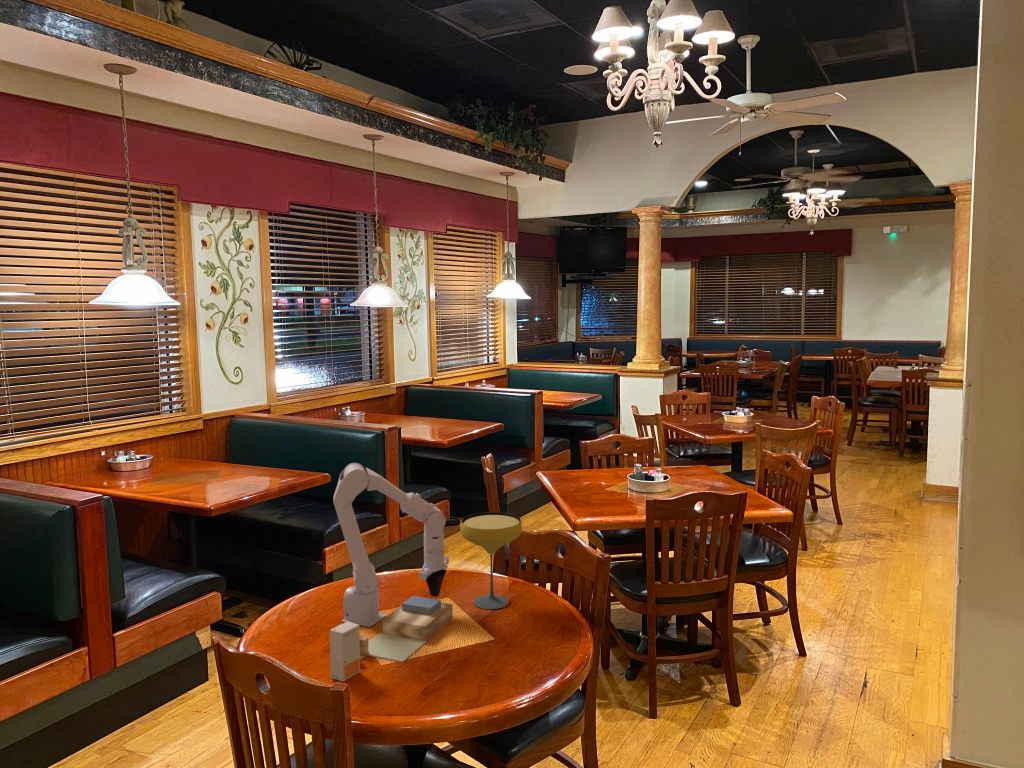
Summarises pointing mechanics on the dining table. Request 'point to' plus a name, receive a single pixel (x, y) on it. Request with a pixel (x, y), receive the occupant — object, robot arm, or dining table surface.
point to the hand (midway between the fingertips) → (434, 595)
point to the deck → (416, 623)
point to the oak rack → (363, 647)
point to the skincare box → (345, 651)
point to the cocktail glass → (491, 543)
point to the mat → (393, 647)
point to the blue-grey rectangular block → (421, 605)
